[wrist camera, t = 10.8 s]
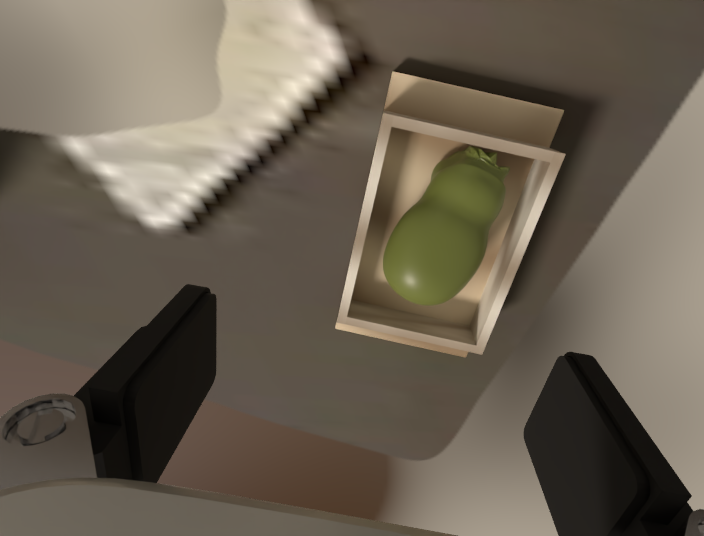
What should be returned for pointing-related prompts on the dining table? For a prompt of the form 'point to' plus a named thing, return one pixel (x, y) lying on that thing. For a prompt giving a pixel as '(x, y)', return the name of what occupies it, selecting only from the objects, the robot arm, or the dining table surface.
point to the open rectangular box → (409, 186)
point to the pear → (446, 229)
